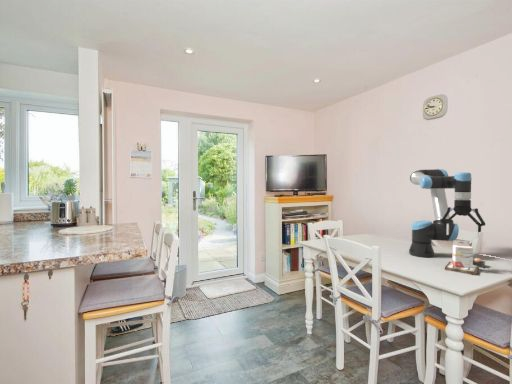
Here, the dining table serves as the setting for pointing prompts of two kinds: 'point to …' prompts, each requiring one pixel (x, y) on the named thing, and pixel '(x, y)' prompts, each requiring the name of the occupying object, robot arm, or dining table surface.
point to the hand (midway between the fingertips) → (462, 236)
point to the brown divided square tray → (462, 269)
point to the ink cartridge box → (462, 254)
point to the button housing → (479, 264)
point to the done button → (478, 260)
